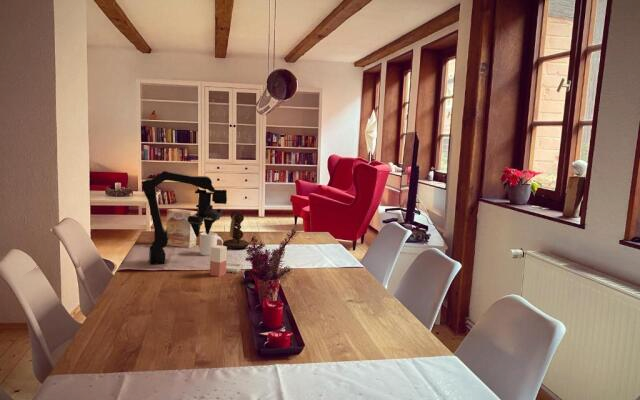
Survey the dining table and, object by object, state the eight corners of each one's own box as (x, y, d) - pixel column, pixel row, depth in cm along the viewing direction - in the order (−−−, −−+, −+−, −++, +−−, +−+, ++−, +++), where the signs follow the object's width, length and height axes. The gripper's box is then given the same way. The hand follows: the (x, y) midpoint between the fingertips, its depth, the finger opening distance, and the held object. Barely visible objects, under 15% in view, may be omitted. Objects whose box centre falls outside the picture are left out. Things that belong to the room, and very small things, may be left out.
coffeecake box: (165, 244, 267) (166, 209, 265) (172, 242, 274) (173, 208, 272) (189, 248, 263) (190, 212, 261) (196, 245, 270) (197, 210, 268)
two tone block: (209, 274, 214) (210, 246, 213) (216, 272, 219) (217, 245, 217) (219, 276, 212) (220, 248, 211) (225, 274, 217) (226, 246, 216)
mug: (224, 255, 252) (225, 235, 250) (201, 256, 247) (201, 235, 245) (220, 251, 259) (221, 231, 258) (197, 252, 254) (198, 232, 253)
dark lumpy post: (219, 245, 275) (221, 210, 273) (245, 244, 281) (246, 210, 279) (226, 250, 262) (227, 214, 260) (252, 249, 268) (254, 214, 266)
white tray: (216, 271, 220) (216, 267, 220) (222, 265, 230) (223, 262, 230) (237, 273, 219) (237, 269, 219) (243, 267, 229) (243, 264, 229)
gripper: (209, 206, 220) (207, 240, 221) (228, 203, 237) (226, 234, 239) (187, 204, 223) (185, 237, 224) (208, 200, 241) (206, 231, 242)
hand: (202, 235), depth 232 cm, fingers open, 9 cm apart
